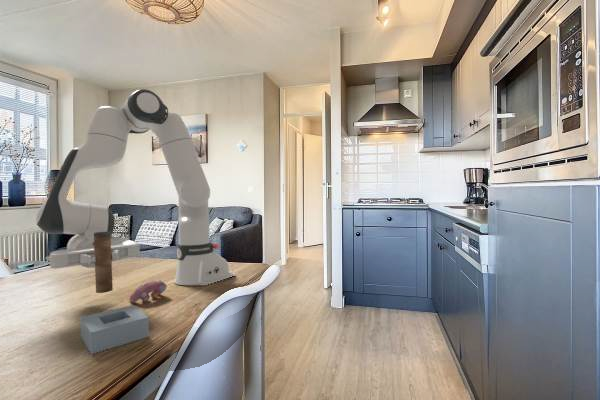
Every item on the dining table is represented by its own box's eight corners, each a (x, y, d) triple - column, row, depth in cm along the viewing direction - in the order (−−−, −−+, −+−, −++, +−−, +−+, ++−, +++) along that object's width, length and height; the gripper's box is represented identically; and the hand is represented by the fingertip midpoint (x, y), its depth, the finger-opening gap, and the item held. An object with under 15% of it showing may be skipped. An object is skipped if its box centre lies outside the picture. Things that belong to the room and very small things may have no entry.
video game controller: (134, 310, 89) (140, 290, 88) (127, 300, 92) (132, 281, 90) (164, 300, 98) (170, 282, 96) (157, 291, 100) (162, 274, 98)
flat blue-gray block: (133, 322, 77) (133, 304, 77) (148, 336, 69) (148, 317, 69) (80, 336, 69) (80, 317, 69) (91, 354, 61) (90, 332, 61)
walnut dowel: (110, 287, 80) (108, 231, 80) (114, 290, 78) (112, 232, 77) (94, 290, 78) (92, 232, 77) (97, 294, 75) (95, 233, 75)
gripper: (44, 245, 79) (50, 252, 69) (130, 236, 94) (145, 240, 84) (45, 269, 79) (52, 279, 70) (131, 256, 94) (146, 263, 84)
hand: (104, 258), depth 77 cm, fingers closed on walnut dowel, 4 cm apart
